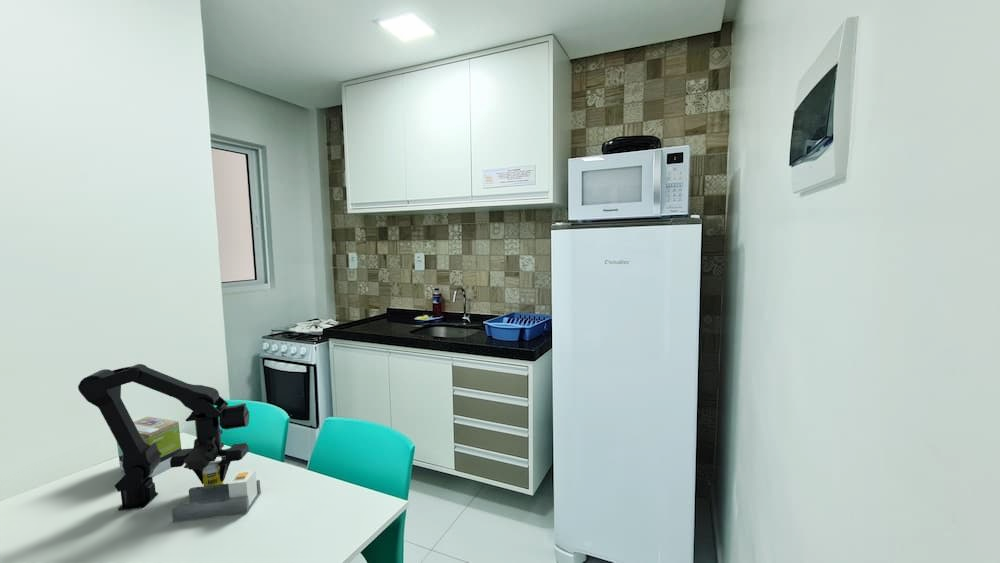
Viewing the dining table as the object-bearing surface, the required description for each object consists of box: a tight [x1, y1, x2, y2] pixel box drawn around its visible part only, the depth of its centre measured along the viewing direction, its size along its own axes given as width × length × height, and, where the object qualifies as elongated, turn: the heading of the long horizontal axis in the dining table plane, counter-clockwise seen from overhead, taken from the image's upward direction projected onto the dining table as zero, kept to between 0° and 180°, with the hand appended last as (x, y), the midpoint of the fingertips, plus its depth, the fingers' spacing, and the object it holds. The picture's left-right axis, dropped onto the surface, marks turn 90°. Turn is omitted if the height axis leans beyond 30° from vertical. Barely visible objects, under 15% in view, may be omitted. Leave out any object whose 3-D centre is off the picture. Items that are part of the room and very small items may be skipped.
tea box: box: [116, 416, 182, 478], centre depth 135 cm, size 15×10×15 cm, turn 73°
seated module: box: [227, 469, 258, 505], centre depth 114 cm, size 4×6×8 cm
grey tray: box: [171, 479, 262, 523], centre depth 113 cm, size 18×9×4 cm, turn 100°
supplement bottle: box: [202, 457, 224, 486], centre depth 122 cm, size 5×5×8 cm
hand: (213, 481), depth 122 cm, fingers closed on supplement bottle, 5 cm apart
